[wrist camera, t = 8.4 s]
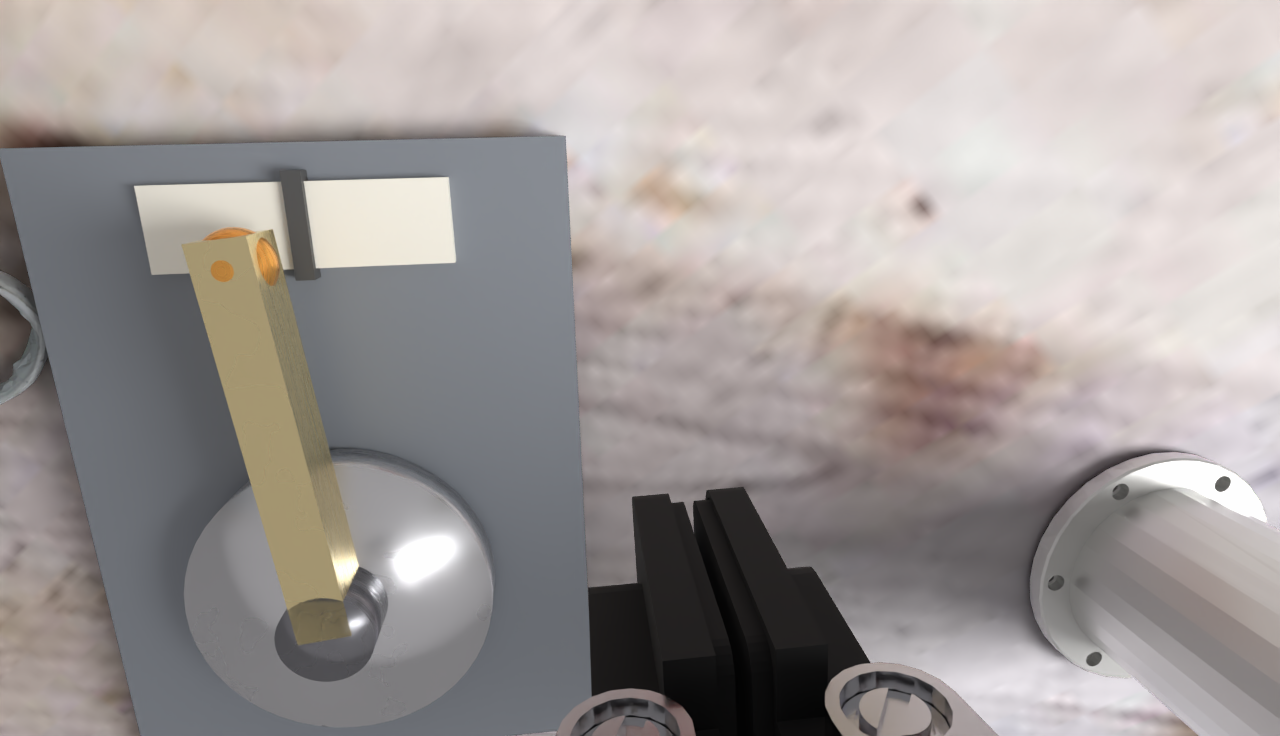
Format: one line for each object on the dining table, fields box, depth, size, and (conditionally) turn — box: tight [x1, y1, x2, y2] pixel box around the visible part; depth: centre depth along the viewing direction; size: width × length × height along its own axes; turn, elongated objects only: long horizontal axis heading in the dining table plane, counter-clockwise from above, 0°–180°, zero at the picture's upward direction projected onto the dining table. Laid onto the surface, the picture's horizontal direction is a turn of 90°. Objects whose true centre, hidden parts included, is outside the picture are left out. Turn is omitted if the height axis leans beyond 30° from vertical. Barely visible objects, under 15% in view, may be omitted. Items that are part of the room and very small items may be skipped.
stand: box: [0, 136, 592, 736], centre depth 32 cm, size 20×27×3 cm
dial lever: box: [181, 227, 495, 727], centre depth 29 cm, size 21×12×4 cm, turn 7°
